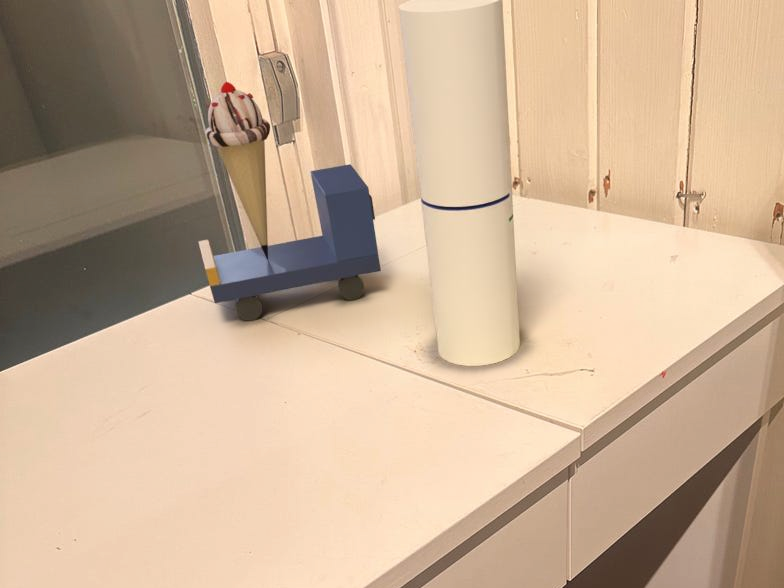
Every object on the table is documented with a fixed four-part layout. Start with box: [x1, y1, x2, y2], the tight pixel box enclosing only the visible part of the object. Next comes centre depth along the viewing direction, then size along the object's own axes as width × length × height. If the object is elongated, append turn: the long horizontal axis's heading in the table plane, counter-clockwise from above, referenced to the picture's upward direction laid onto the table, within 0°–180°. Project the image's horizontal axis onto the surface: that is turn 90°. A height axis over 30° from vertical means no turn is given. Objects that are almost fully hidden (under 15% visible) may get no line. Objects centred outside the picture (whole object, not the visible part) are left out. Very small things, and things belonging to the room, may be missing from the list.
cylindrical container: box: [398, 0, 521, 367], centre depth 71 cm, size 7×7×25 cm
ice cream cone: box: [205, 81, 271, 260], centre depth 83 cm, size 6×6×15 cm
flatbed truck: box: [198, 163, 382, 321], centre depth 88 cm, size 16×8×10 cm, turn 108°
